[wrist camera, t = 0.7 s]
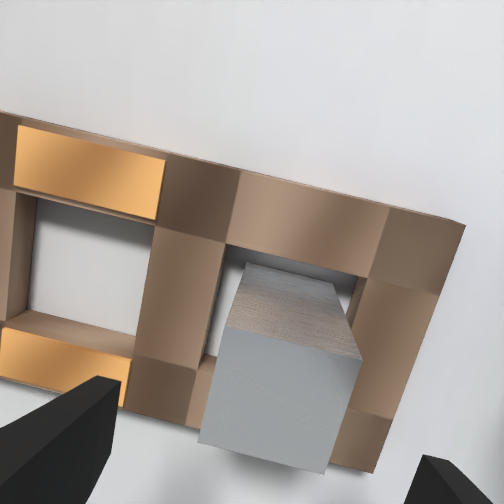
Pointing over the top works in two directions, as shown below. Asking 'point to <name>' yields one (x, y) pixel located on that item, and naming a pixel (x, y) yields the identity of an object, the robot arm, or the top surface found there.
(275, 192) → the socket plate
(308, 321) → the steel block
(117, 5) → the top surface
